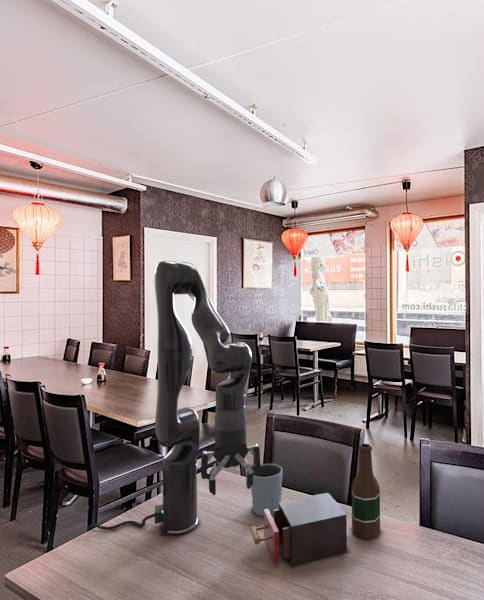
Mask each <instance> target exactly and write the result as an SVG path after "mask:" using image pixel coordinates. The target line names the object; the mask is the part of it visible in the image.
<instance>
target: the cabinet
mask: <svg viewBox="0 0 484 600" xmlns="http://www.w3.org/2000/svg"><path fill="white" fill-rule="evenodd" d="M278 509H281V511H282V513H283V514H284V516H285V518H286V520H287V522H288V524H289V525H290V527H291V557H290V558H288V560H289V563H290V565H291V566H296V565H299V564H303V563H307V562H308V563H309V562H311V561H316V560H320V559H323V558H324V559H325V558H328V557H331V556H335V555H339V554H343V553H347V551H348V545H347V544H348V543H347V538H348V535H347V533H348V532H347V527H348V525H347V513H346V512H345V511H344V510H343V508H342V507H341V505H339V504H338V502H337V501H336V500H335V499H334V497H333V496H332V495H331V494H330V493H329V492H324V493H317V494H314V495H308V496H302V497H298V498H292V499H287V500H283V501H282V500H281V502H278Z"/></svg>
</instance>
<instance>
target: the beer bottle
mask: <svg viewBox="0 0 484 600" xmlns="http://www.w3.org/2000/svg"><path fill="white" fill-rule="evenodd" d="M358 450H359V457H358V471H357V474H356V476H355V477H354V478H353V481H352V483H351V528H352V531H353V533H354V535H355V536H356V537H358V538H362V539H366V540H367V539H374V538H376V537H377V535H378V534H379V533H380V532H381V490H380V485H379V481H378V480H377V478H376V476H375V475H374V470H373V459H372V451H373V447H372V445H371V444H369V443H361V444H359V446H358Z"/></svg>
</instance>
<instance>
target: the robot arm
mask: <svg viewBox="0 0 484 600" xmlns="http://www.w3.org/2000/svg"><path fill="white" fill-rule="evenodd" d="M153 281H154V293H155V302H156V303H155V304H156V312H157V313H156V314H157V398H156V407H155V408H156V410H155V421H154V431H155V436H156V440H157V442H158V444H159V445H160V446H161V447H163V448H170V447H171V448H170V450H169V451H168V452H167V453H166V454H165V455H164V456H163V458H162V463H161V466H162V504H157V505H155V506H154V513H152V514H149V515H146V516H145V517H144V518H143V519H142V520H141V523H140V522H138V521H136V520H126V521H122V522H120V523H118V524H114V525H111V526H105V525H102V524H99V523H92V524H90V525H88V526H87V528H86V530H87V531H88V530H91V529H92V528H98V529H100V530H104V531H112V530H114V529H117V528H120V527H123V526H125V525H134V526H136V527H139V528H143V527H144V526H145V525H146V521H147V520H149V519H152V518H154V524H155V525H157V524H162V535H182V534H185V533H188V532H191V531H192V530H194V529H195V528H196V527H197V526H198V523H199V520H198V519H199V518H198V469H197V465H198V464H197V459H198V456H199V453H200V437H201V436H200V435H201V430H200V429H201V423H200V419H199V415H198V414H197V412H196V410H195V409H194V408H193V407H189V406H185V407H181V408H178V406H179V405H178V404H179V396H180V393H181V391H182V389H183V386H184V384H185V382H186V380H187V378H188V375H189V374H190V372H191V368H192V365H193V340H192V337H191V335H190V333H189V332H188V330H187V328H186V327H185V325H184V323H182V321H181V319H180V317H179V315H178V313H177V311H176V305H175V298H174V295H188V296H189V297H190V298H191V299H192V301H193V306H192V309H191V318H190V319H191V324H192V327H193V328H194V330H195V332H196V334H197V335H198V336H199V337H198V338H200V340H201V341H202V344H203V348H204V352H205V356H206V361H207V365H208V367H209V369H211V371H213V372H214V373H215V374H219V375H220V374H221V375H224V374H229V376H228V377H227V378H226V379H225V380H223V381H221V382H220V383H218V384H217V385H216V387H215V410H214V411H215V412H214V449H213V450H212V451H210V450H209V451H206V450H205V449H204V450H202V451H201V457H200V475H201V479H202V480H208V490H209V493H210V494H212V496H216V495H217V493H216V492H217V487H216V485H217V484H216V483H217V481H216V477H217V476H218V474H220V472H222V470H223V468H224V469H229V468H231V467H233V468H237V467H239V466H242V467H243V469H244V470H246V471H245V485H246V489H247V490H251V486H252V485H253V473H254V471H256V470H260V468H261V450H260V446H259V445H258V443H256V442H255V443H253V445H248V444H247V422H248V420H247V411H246V387H247V383H248V379H249V375H250V371H251V368H252V363H253V355H252V350H251V349H250V347H249V345H248V344H246V343H245V342H241V341H237V342H228V343H226V342H227V341H228V340H229V338H230V330H229V327H228V326H227V325H226V323H225V321H224V320H223V319H222V317H221V315H220V314H219V313H218V311H217V310H216V308H215V306H214V304H213V302H212V300H211V298H210V295H209V293H208V290H207V288H206V285H205V282H204V280H203V278H202V275H201V273H200V272H199V270H198V268H197V267H196V265H195V264H193V263H191V262H189V261H188V262H187V261H174V260H173V261H172V260H162V261H159V262H158V263H157V264H156V267H155V269H154V280H153ZM249 452H250V454H251V455H252V457H253V464H250V463H249V462H248V461H247V459H246V456H247V455H248V453H249ZM212 457H213V458H214V459H215V460H216V461H214V463H213V465H212V467H211V469H210V471H208V463H209V462H210V461H211V459H212ZM101 525H102V526H101ZM100 526H101V527H100Z"/></svg>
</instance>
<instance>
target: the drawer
mask: <svg viewBox="0 0 484 600" xmlns="http://www.w3.org/2000/svg"><path fill="white" fill-rule="evenodd" d="M273 512H274V515H271V514H270V512H269V510H268V509H264V516H263V525H259V526H255V525H252V526H250V528H249V531H250V533H251V536H252V539H253V542H254V544H255V545H259V544H260V543H261V542H265V544H266V547H267V549H268V552H269V554H270V557H271V559H272V562H273V564H274V565H278V564H279V565H280V554H281V556H282V558H283V559H284V560H286V559H289V558H290V557H291V527H290V525H289V524H288V522H287V520H286V518H285V516H284V514H283V513H282V511H281V509H275V510H273ZM260 530H261V531H262V530H263V537H260V536H259V533H258V531H260Z"/></svg>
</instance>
